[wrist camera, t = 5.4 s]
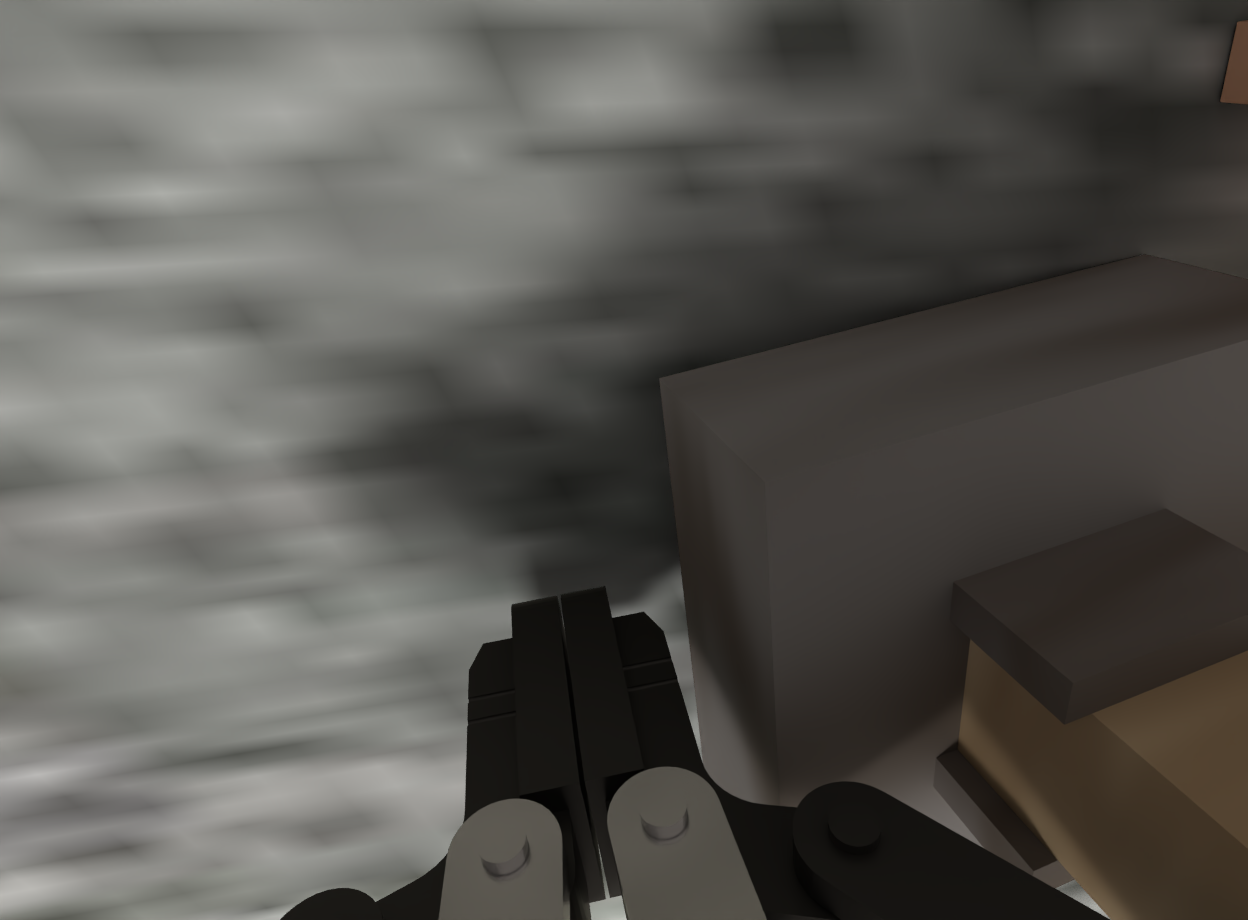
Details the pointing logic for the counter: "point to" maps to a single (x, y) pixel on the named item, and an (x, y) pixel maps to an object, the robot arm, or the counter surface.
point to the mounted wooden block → (990, 575)
